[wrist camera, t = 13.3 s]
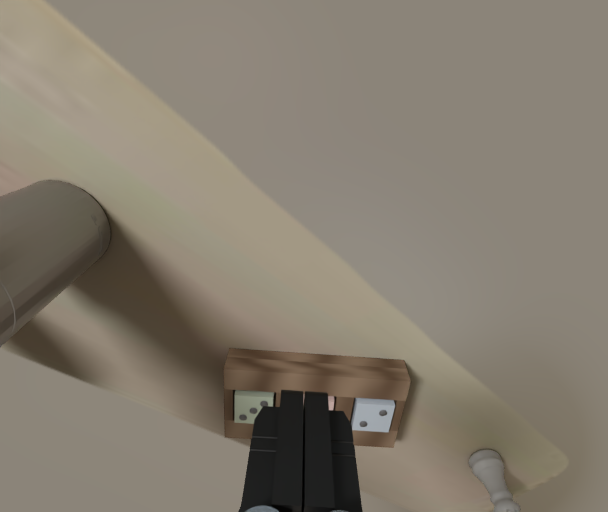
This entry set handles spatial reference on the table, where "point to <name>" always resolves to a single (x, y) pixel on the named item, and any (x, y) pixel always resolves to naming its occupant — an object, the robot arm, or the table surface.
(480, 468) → the rook chess piece
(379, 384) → the button panel
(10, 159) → the table surface
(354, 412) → the two-pip button
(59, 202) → the robot arm
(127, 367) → the table surface
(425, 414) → the table surface
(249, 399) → the three-pip button
